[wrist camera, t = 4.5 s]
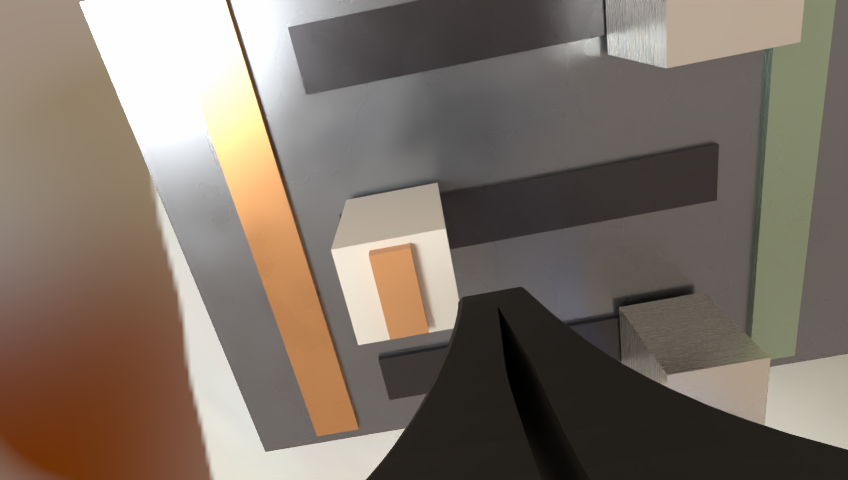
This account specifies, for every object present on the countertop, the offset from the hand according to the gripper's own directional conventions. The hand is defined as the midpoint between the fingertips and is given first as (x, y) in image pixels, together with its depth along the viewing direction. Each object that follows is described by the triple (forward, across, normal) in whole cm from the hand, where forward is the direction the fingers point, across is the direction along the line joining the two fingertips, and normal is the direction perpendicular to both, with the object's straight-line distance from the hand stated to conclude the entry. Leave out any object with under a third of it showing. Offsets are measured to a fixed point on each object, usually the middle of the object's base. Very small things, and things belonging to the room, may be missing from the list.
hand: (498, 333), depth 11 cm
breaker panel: (+8, -2, 0) cm, 8 cm away
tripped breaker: (+6, +2, 0) cm, 6 cm away
